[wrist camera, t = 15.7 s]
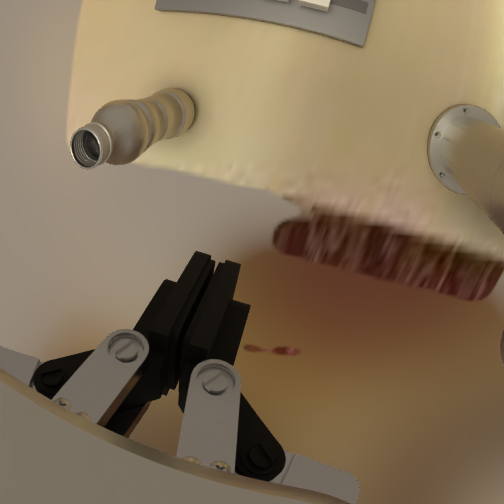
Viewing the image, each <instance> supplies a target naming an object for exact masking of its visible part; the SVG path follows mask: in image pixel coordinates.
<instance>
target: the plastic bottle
mask: <svg viewBox="0 0 504 504" xmlns="http://www.w3.org/2000/svg"><path fill="white" fill-rule="evenodd" d="M194 114H195V111H194V105H193V102H192V100H191V98H190V97H189V96H188V95H187V94H186V93H185V92H183V91H181V90H178V89H172V88H168V89H163V90H160V91H158V92H156V93H155V94H153V95H152V96H150V97H147V98H144V99H138V100H115V101H111V102H108V103H106V104H105V105H104V106H102V107H101V108H100V109H99V110H98V111H97V112H96V113H95V115H94V117H93V118H92V121H91V123H89V124H87V125H85V126H84V127H82V128H80V129H78V130H77V131H76V132H75V133H74V134H73V136H72V138H71V141H70V151H71V155H72V157H73V159H74V161H75V162H76V164H78V166H80V167H81V168H83V169H92V168H95V167H96V166H98V165H101V164H103V163H105V162H106V163H109V164H112V165H123V164H128V163H131V162H132V161H134V160H135V159H137V158H138V157H139V156H140V155H141V154H142V153H143V152H145V151H146V150H147V149H148V148H149V147H150V146H151V145H153V144H154V143H156V142H157V141H160V140H163V139H169V138H174V137H178V136H180V135H181V134H183V133H184V132H185V131H186V130H187V129H188V128H189V126H190V125H191V124H192V122H193V119H194Z"/></svg>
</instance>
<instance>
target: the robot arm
mask: <svg viewBox="0 0 504 504" xmlns="http://www.w3.org/2000/svg"><path fill="white" fill-rule="evenodd" d="M463 109H465V111H464V112H463ZM436 132H437V135H435V133H436ZM427 151H428V159H429V162H430V166H431V168H432V170H433V172H434V174H435V176H436V177H437V178H438V180H439V181H440V182H441V183H442V184H443V185H444V186H445V187H447V188H448V189H449V190H451V191H453V192H455V193H459V194H464V195H469V196H470V197H471V198H472V199H473V200H474V201H475V202H476V203H477V204H478V205H479V206H480V208H481V209H482V210H483V211H484V212H485V213H486V214H487V215H488V216H489V217H490V219H491V220H492V221H493V222H494V223H495V224H496V225H497V227H498V228H499V229H500V230H501V231H502V232H503V233H504V130H503V129H501V128H500V126H499V124H498V123H497V121H496V120H495V119H494V117H493V116H492V115H491V114H490V113H488V112H487V111H486V110H484V109H482V108H480V107H477V106H474V105H469V104H461V105H456V106H453V107H450V108H449V109H447V110H446V111H444V112H443V113H442V114H441V115H440V116H439V117H438V118H437V120H436V121H435V123H434V124H433V126H432V129H431V131H430V134H429V139H428V149H427ZM440 172H441V174H439V173H440ZM240 266H241V264H238V263H235V262H232V261H229V260H226V261H225V263H221V262H219V264H218V266H217V268H216V270H215V272H214V267H215V261H214V260H211V256H210V255H208V254H205V253H202V252H198V251H196V252H195V253H194V255H193V256H192V258H191V260H190V261H189V263H188V265H187V266H186V268H185V270H184V271H183V273H182V274H181V276H180V278H179V279H178V281H177V282H174V281H171V280H168V279H166V280H164V281H163V283H162V284H161V286H160V287H159V289H158V291H157V292H156V294H155V295H154V297H153V298H152V300H151V302H150V303H149V305H148V306H147V308H146V309H145V311H144V313H143V314H142V316H141V318H140V319H139V321H138V322H137V324H136V326H135V327H134V329H133V330H130V329H121V330H117V331H115V332H112V333H111V334H109V336H107V337H106V338H105V339H104V340H103V341H102V343H101V344H100V345H99V346H98V347H97V348H96V349H94V350H90V351H86V352H82V353H79V354H75V355H70V356H66V357H62V358H58V359H54V360H50V361H47V362H45V363H44V362H40V360H39V359H38V358H35V357H32V356H28V355H25V354H22V353H19V352H15V351H13V350H10V349H7V348H4V347H1V346H0V504H356V501H357V498H358V495H359V488H360V487H359V483H358V480H357V479H356V478H355V477H354V475H352V474H350V473H348V472H346V471H343V470H340V469H337V468H334V467H332V466H329V465H326V464H323V463H321V462H318V461H315V460H313V459H310V458H308V457H305V456H303V455H300V454H298V453H295V454H292V453H289V452H287V451H284V450H283V448H282V447H281V445H280V444H279V443H278V441H277V440H276V439H275V437H274V436H273V435H272V434H271V432H270V431H269V430H268V428H267V427H266V426H265V425H264V423H263V422H262V421H261V419H260V418H259V417H258V415H257V414H256V412H255V411H254V410H253V408H252V407H251V406H250V404H249V403H248V402H247V400H246V399H245V397H244V396H243V395H242V393H241V392H240V391H241V379H240V376H239V373H238V371H237V370H236V369H235V368H234V367H233V365H234V361H235V358H236V355H237V351H238V348H239V344H240V341H241V337H242V334H243V330H244V327H245V324H246V320H247V317H248V313H249V310H250V306H251V305H248V304H245V303H241V302H238V301H235V300H233V296H234V292H235V287H236V283H237V279H238V275H239V271H240ZM213 272H214V274H213ZM500 357H501V360H502V364H503V367H504V330H503V333H502V337H501V341H500ZM178 381H179V400H178V401H179V402H178V405H179V407H180V408H181V410H182V412H183V414H184V416H183V422H182V427H181V433H180V438H179V444H178V450H177V456H176V457H175V456H172V455H169V454H167V453H164V452H161V451H158V450H156V449H153V448H150V447H148V446H145V445H143V444H140V443H138V442H135V441H133V440H130V439H128V438H129V436H130V434H131V433H132V432H133V430H134V429H135V427H136V426H137V424H138V423H139V422H140V420H141V419H142V417H143V415H144V414H145V413H146V411H147V410H148V408H149V406H150V405H151V402H152V401H153V400H156V399H159V398H161V395H162V394H163V395H167V393H168V391H169V389H173V390H175V388H176V386H177V384H178Z"/></svg>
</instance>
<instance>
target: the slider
mask: <svg viewBox="0 0 504 504" xmlns="http://www.w3.org/2000/svg"><path fill="white" fill-rule="evenodd" d="M298 1H299V4H300V6H305V7H309V8H313V9H317V10H321V11H325V12H328V8H329V4H330V1H331V0H298Z"/></svg>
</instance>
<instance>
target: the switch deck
mask: <svg viewBox="0 0 504 504" xmlns="http://www.w3.org/2000/svg"><path fill="white" fill-rule="evenodd" d="M375 1H376V0H331V1H330V4H329V8H328V12H325V11H321V10H317V9H313V8H309V7H305V6H300V4H299V1H298V0H290V1H289V3H287V2H282V1H276V0H157V1H156V5H155V10H159V11H169V12H189V13H202V14H213V15H222V16H230V17H237V18H244V19H250V20H256V21H262V22H267V23H273V24H277V25H282V26H287V27H291V28H296V29H300V30H304V31H308V32H312V33H316V34H319V35H323V36H326V37H330V38H333V39H337V40H340V41H343V42H346V43H349V44H352V45H355V46H358V47H363V46H364V42H365V39H366V35H367V31H368V28H369V24H370V20H371V16H372V12H373V8H374V4H375Z"/></svg>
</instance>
